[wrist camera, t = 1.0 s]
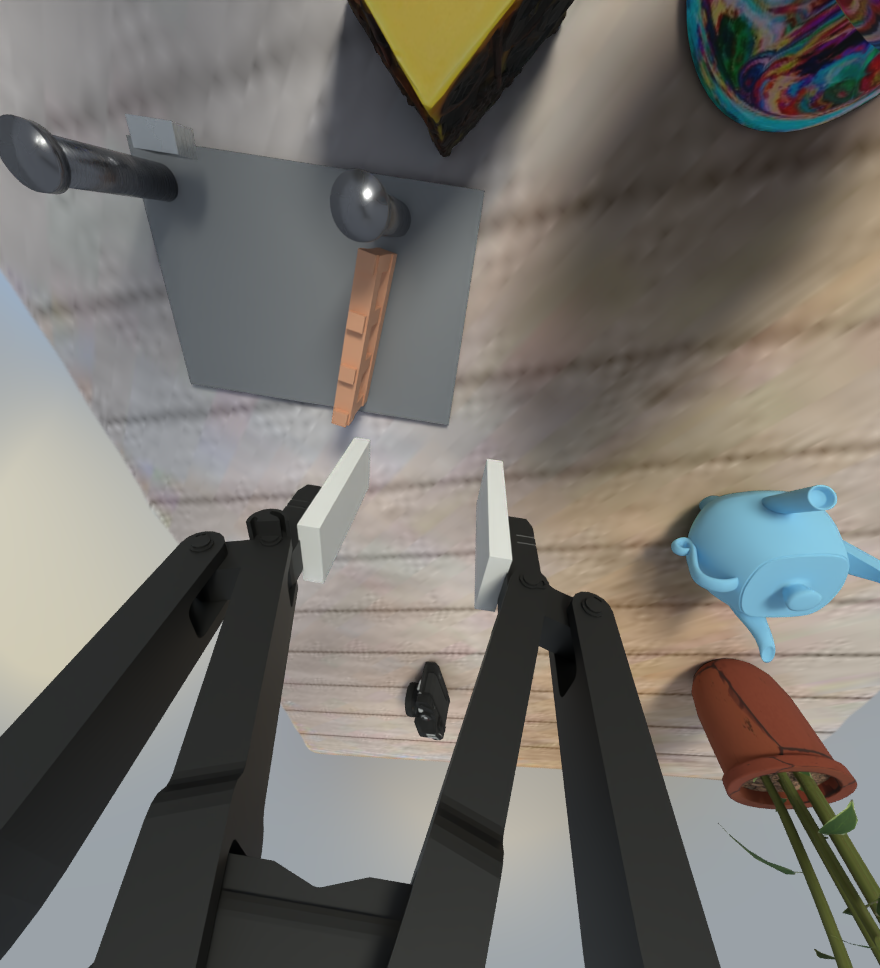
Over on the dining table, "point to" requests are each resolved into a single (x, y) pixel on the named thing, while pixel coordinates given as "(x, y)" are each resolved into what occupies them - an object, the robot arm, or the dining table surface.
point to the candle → (456, 53)
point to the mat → (309, 281)
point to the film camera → (428, 703)
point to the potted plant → (786, 782)
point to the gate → (363, 331)
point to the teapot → (771, 555)
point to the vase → (786, 58)
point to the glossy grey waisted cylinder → (366, 208)
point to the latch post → (95, 159)
